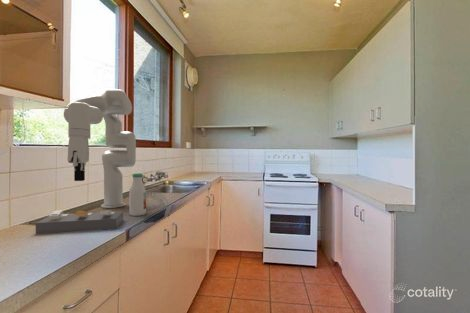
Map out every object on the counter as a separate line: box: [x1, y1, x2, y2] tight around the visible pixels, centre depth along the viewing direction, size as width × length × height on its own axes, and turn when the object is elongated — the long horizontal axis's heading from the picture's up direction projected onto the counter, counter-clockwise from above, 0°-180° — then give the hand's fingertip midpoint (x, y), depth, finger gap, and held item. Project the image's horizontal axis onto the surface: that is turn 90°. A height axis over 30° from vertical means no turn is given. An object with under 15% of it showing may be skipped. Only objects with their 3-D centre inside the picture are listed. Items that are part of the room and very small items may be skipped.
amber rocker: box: [75, 210, 89, 216], centre depth 106 cm, size 5×3×2 cm, turn 13°
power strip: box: [35, 210, 124, 234], centre depth 107 cm, size 14×28×4 cm, turn 103°
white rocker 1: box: [48, 209, 64, 219], centre depth 103 cm, size 5×3×2 cm, turn 13°
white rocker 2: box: [99, 209, 112, 214], centre depth 108 cm, size 5×3×2 cm, turn 13°
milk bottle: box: [128, 173, 147, 217], centre depth 128 cm, size 8×8×20 cm
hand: (79, 180), depth 103 cm, fingers closed
